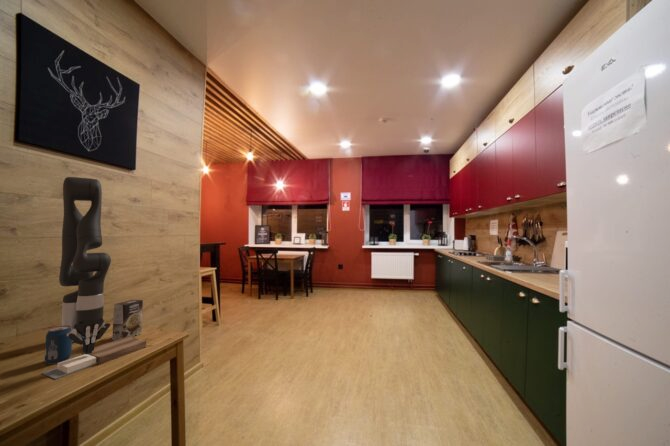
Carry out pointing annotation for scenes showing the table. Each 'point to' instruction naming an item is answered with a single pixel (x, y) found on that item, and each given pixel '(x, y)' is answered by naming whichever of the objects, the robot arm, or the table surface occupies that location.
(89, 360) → the tile
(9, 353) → the table surface
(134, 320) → the coffee box
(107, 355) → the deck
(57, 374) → the mat
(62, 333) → the soda can
